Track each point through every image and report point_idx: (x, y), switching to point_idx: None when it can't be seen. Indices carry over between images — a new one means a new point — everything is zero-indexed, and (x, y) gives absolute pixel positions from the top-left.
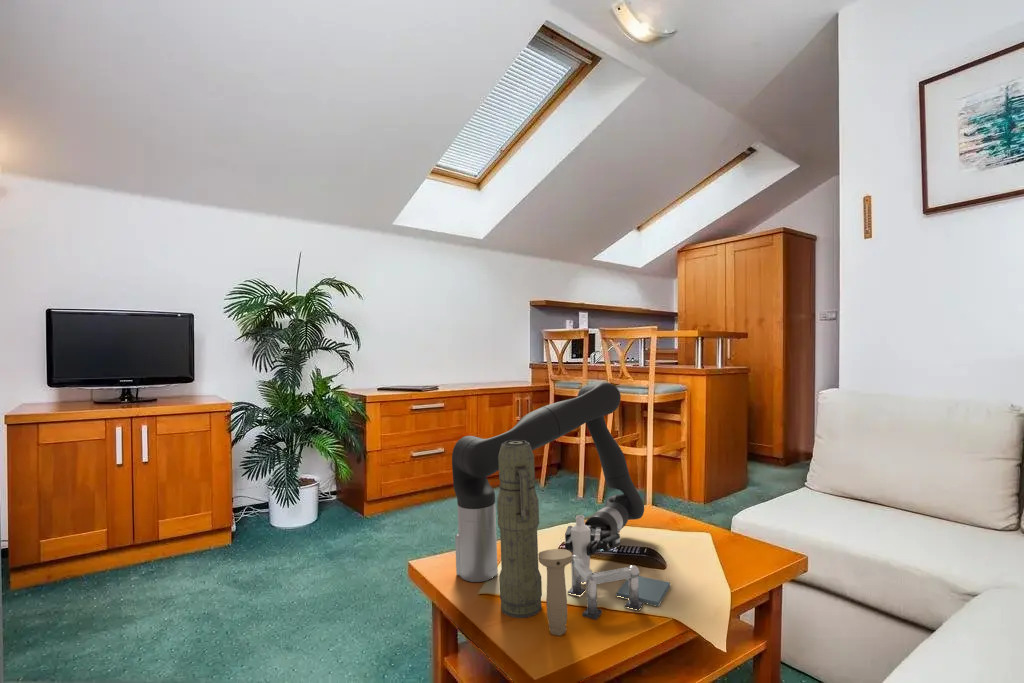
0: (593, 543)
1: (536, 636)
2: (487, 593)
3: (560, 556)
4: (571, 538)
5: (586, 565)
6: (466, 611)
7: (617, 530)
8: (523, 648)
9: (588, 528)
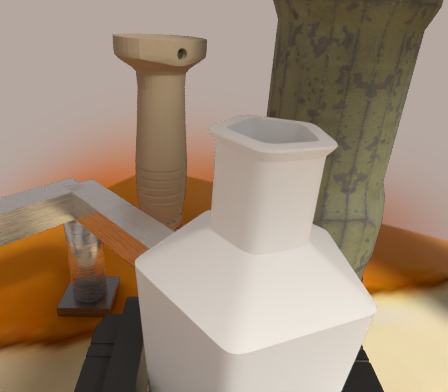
0: (110, 367)
1: (197, 212)
2: (440, 287)
3: (142, 35)
4: (353, 375)
5: (112, 219)
6: (385, 226)
7: None
8: (201, 191)
9: (158, 251)
